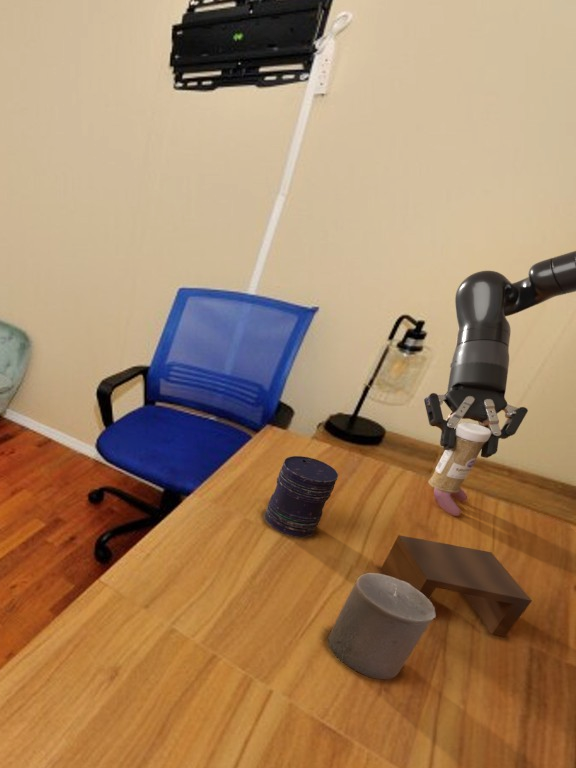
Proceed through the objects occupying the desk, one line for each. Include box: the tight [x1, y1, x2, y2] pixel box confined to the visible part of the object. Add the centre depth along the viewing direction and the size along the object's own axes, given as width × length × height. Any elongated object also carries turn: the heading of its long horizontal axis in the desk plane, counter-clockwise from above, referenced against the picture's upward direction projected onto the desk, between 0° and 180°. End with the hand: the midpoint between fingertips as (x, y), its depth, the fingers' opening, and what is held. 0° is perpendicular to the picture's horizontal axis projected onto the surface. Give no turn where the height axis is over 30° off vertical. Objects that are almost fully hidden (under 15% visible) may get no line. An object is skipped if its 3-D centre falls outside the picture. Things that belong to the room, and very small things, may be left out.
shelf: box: [380, 534, 533, 638], centre depth 92 cm, size 14×12×9 cm
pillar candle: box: [327, 572, 437, 680], centre depth 82 cm, size 10×10×15 cm
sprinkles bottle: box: [428, 421, 492, 493], centre depth 95 cm, size 5×5×13 cm
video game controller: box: [433, 487, 468, 517], centre depth 119 cm, size 10×5×7 cm, turn 130°
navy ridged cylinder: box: [264, 455, 339, 538], centre depth 111 cm, size 10×10×15 cm
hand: (467, 452), depth 93 cm, fingers closed on sprinkles bottle, 4 cm apart
